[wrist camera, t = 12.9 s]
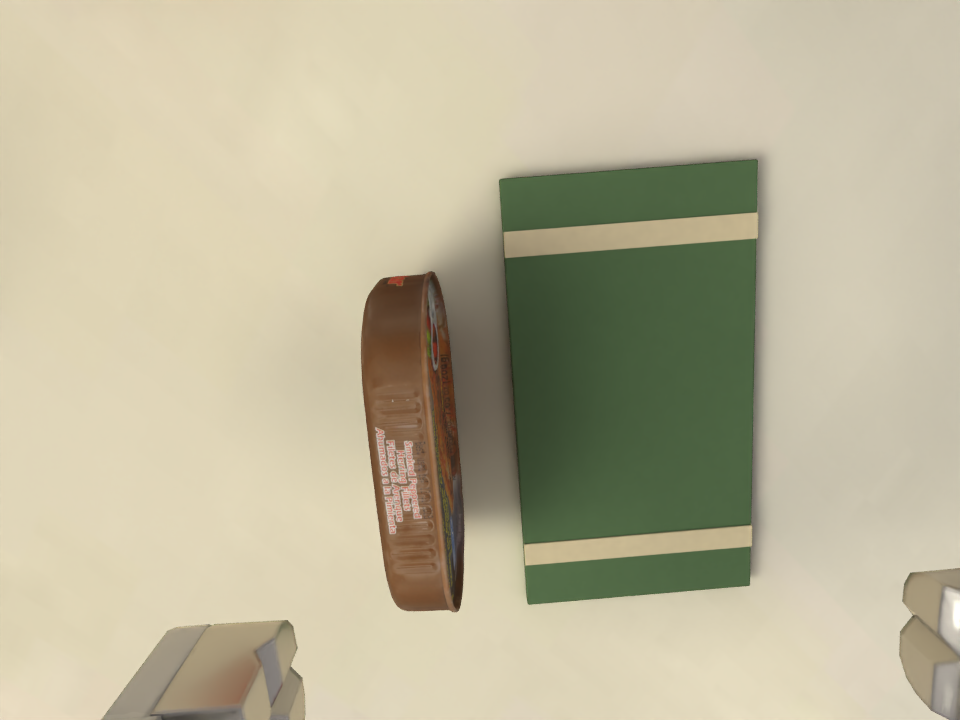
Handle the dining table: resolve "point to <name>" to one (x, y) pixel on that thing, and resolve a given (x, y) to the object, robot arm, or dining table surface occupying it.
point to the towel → (633, 376)
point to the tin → (414, 441)
